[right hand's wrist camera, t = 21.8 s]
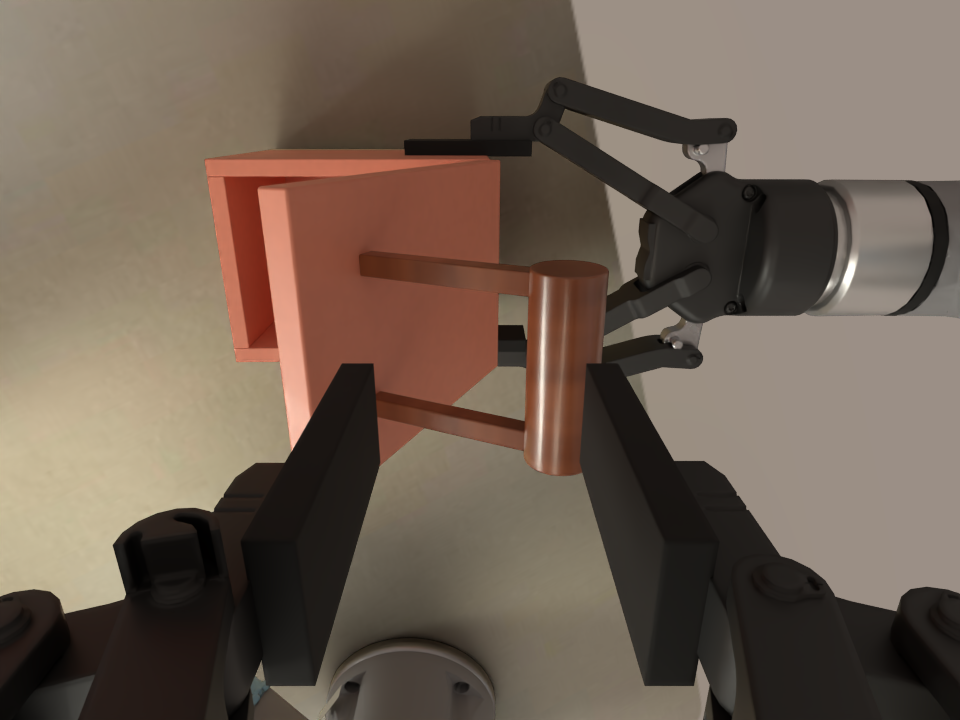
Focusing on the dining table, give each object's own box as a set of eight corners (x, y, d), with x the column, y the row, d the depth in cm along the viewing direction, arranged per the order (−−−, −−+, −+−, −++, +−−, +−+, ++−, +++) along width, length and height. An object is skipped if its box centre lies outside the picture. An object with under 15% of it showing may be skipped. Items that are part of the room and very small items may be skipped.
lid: (297, 507, 20) (554, 590, 16) (255, 186, 16) (577, 204, 12) (480, 362, 31) (651, 392, 28) (480, 159, 28) (677, 164, 24)
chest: (291, 304, 42) (235, 362, 31) (273, 148, 38) (203, 158, 28) (482, 303, 42) (488, 360, 32) (483, 149, 38) (490, 158, 28)
